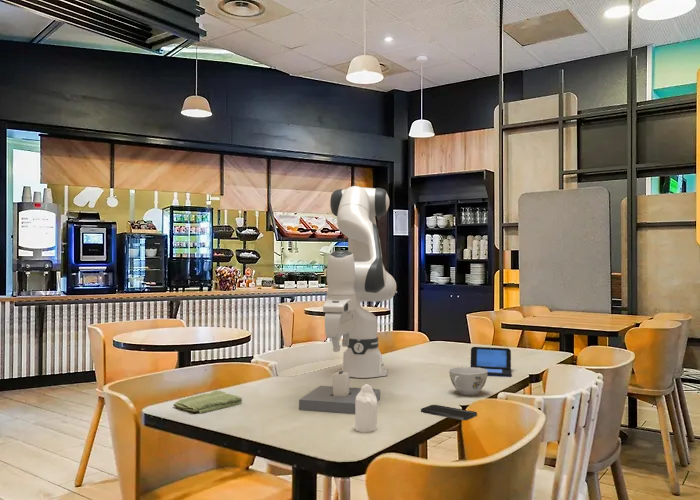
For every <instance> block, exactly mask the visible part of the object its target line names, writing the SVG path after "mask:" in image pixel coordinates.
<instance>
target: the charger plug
mask: <svg viewBox="0 0 700 500" xmlns="http://www.w3.org/2000/svg"><path fill="white" fill-rule="evenodd" d="M332 386H333V396H342V397H348V396H349V387H350V377H349V372H343V371H340V372H339V371H336V372H335V373H333V374H332Z"/></svg>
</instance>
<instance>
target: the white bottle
mask: <svg viewBox="0 0 700 500" xmlns="http://www.w3.org/2000/svg"><path fill="white" fill-rule="evenodd" d="M360 388H361V390H360V392H359V393H358V395H357V396H356V399H355V400H356V401H355V414H354V417H355V418H354V420H355V421H354V422H355V423H354V424H355V425H354V427H355V431H357V432H360V433H373V432H375V431H377V428H378V426H377V423H378V401H377V398H376V395H375V393H374V391H373V389H374V388H373V387H372V386H371V385H369V384H368V383H366V384H363V385H362V386H361V387H360Z"/></svg>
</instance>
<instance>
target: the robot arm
mask: <svg viewBox="0 0 700 500" xmlns="http://www.w3.org/2000/svg"><path fill="white" fill-rule="evenodd" d="M329 207H330V210H331V213H332V215H334V216H335V217H337V218H336V222H337V223H336V224H337V228H338V229H339V231H340V232H341V234H342V235H343V236H345V237H347V238H348V239H347V241H348V245H347V248H348V249H347V250H337V251H336V250H335V251H332V252H331V253H330V254H328V260H327V267H326V272H325V282H326V285H327V291H326V301H325V302H324V304H323V306H322V312H323V313H325V314H324V329H325V336H326V339H331V343H332V351H333V352H335V353H339V352H340V351H341V347H343V348H346V347H347V348H346V350H344V352H342V368H341V369H339V370H338V372H340V371H343V372H349V378H357V379H358V378H363V379H369V378H370V379H371V378H377V377H386V376H388V367H387V366H385V365H384V362H383V359H382V358H383V356H382V352H381V351H380V349H379V337H378V319H377V316H376V315H375V314H374V313H373V312H371V311H369V310H367V309H365V308H363V307H362V304H361V302H362V303H363V302H384V301H385V302H386V301H389V300H391V299H392V298H394V296H395V295H396V293H397V282H396V280H395V278H394V277H393V275H391V274H390V273H389V272H388V271H387V270H386V269H385V265H384V263H383V254H382V248H381V240H380V235H379V229H378V227H377V221H379V220H380V218H381V217H384V216H386V214H387V213H388V209H389V207H390V197H389V195H388V191H387V190H386V189H384V188H381V187H376V188H374V187H361V186H358V185H352V186H348V187H347V188H345V189H343V188H340V189H336V190H334V191H333V192H332V193H331V196H330V198H329ZM376 220H377V221H376ZM340 337H342V341H341V345H340V339H341V338H340Z"/></svg>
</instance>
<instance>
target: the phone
mask: <svg viewBox="0 0 700 500" xmlns="http://www.w3.org/2000/svg"><path fill="white" fill-rule="evenodd" d="M420 412H421V413H422V412H423V414H428V415H433V416H438V417H444V418H449V419H455V420H460V421H469V420H470V419H473V418H475V417H477V416H478V412H477V411H474V410H473V411H472V410H468V411H467V409H462V408H456V407H450V406H445V405H440V404H439V405H438V404H430V405H427V406H425V407H422V408H421V409H420Z"/></svg>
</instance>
